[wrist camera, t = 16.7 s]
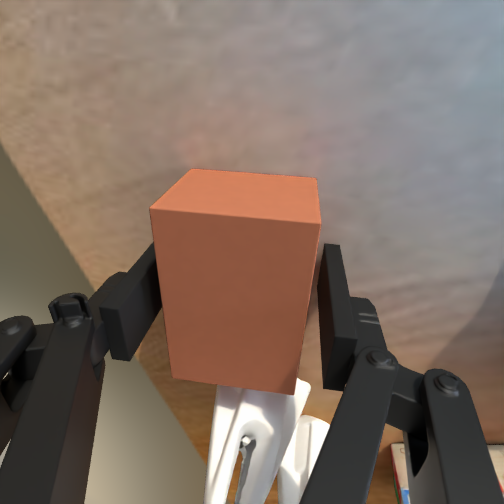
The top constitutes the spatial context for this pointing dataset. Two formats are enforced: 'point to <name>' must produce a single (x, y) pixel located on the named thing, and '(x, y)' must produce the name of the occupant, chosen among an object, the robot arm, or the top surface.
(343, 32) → the top surface
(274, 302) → the terracotta rectangular block
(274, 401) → the shaker set
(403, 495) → the stack of blocks
